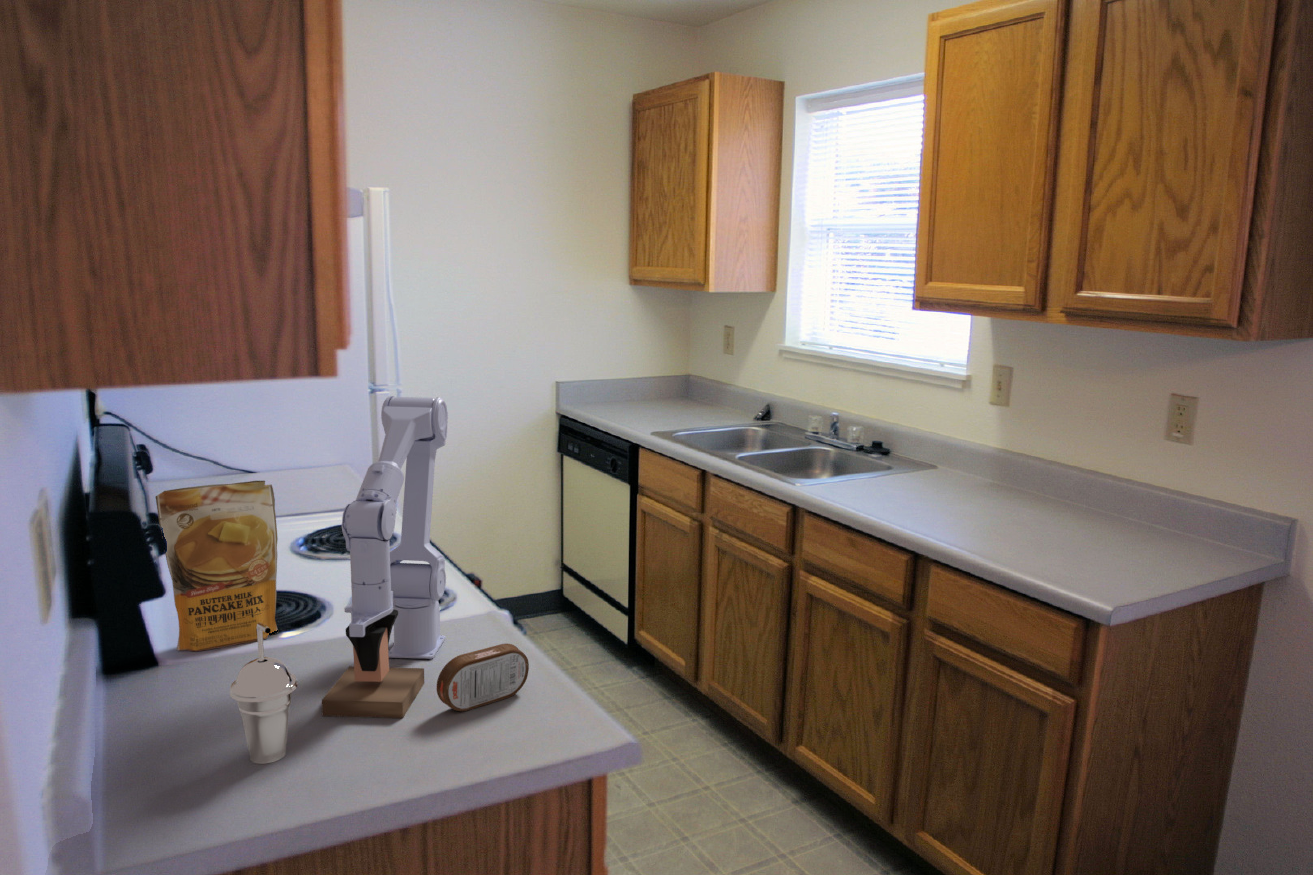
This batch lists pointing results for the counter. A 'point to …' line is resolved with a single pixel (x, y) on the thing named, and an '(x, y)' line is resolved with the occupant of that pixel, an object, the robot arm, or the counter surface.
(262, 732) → the cup with straw
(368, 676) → the terracotta block
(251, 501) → the pancake mix bag
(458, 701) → the tin
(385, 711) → the walnut base
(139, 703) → the counter surface
